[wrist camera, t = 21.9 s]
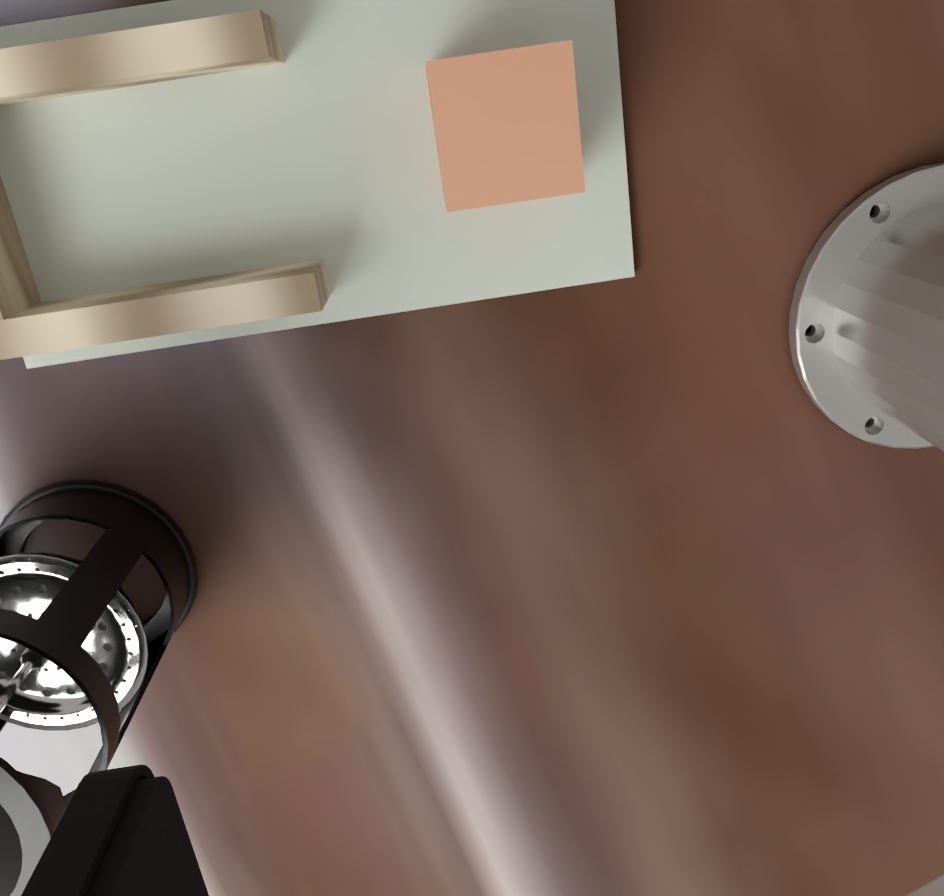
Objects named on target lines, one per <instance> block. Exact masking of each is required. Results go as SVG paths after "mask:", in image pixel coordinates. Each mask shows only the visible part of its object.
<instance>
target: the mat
mask: <svg viewBox="0 0 944 896" xmlns="http://www.w3.org/2000/svg"><path fill="white" fill-rule="evenodd" d="M259 9H260V10H261V11H262V12H264V13H265V14H267V15H268V16H270V17H271V18H273V19H274V20H276V24H277V29H278V34H279V39H280V44H281V49H282V54H283V59H284V63H281V64H275V65H268V66H262V67H255V68H248V69H242V70H235V71H229V72H222V73H216V74H209V75H203V76H196V77H189V78H183V79H176V80H170V81H163V82H157V83H150V84H143V85H137V86H130V87H124V88H117V89H111V90H104V91H97V92H91V93H84V94H78V95H71V96H65V97H58V98H51V99H45V100H38V101H32V102H25V103H19V104H12V105H5V106H0V176H1V179H2V182H3V185H4V188H5V191H6V194H7V197H8V200H9V203H10V206H11V210H12V213H13V216H14V219H15V222H16V225H17V228H18V231H19V234H20V237H21V240H22V244H23V247H24V250H25V253H26V256H27V259H28V262H29V265H30V268H31V271H32V274H33V278H34V281H35V284H36V287H37V290H38V293H39V296H40V299H41V302H44V301H51V300H57V299H64V298H70V297H77V296H84V295H90V294H97V293H103V292H110V291H117V290H123V289H130V288H136V287H143V286H149V285H156V284H163V283H169V282H176V281H182V280H189V279H196V278H202V277H209V276H215V275H222V274H228V273H235V272H242V271H248V270H255V269H261V268H268V267H275V266H281V265H288V264H294V263H301V262H307V261H314V260H321V259H324V263H325V268H326V273H327V278H328V283H329V287H330V292H331V295H330V297H329V299H328V301H327V302H326V304H325V306H324V308H323V310H322V311H319V312H313V313H306V314H300V315H293V316H286V317H280V318H273V319H267V320H260V321H253V322H247V323H240V324H234V325H227V326H220V327H214V328H207V329H201V330H194V331H188V332H181V333H174V334H168V335H161V336H155V337H148V338H141V339H135V340H128V341H122V342H115V343H108V344H102V345H95V346H89V347H82V348H76V349H69V350H62V351H56V352H49V353H43V354H36V355H29V356H23V359H24V362H25V364H26V367H27V369H29V368H35V367H42V366H48V365H55V364H62V363H68V362H75V361H81V360H88V359H94V358H101V357H108V356H114V355H121V354H127V353H134V352H141V351H147V350H154V349H160V348H167V347H173V346H180V345H187V344H193V343H200V342H206V341H213V340H220V339H226V338H233V337H239V336H246V335H253V334H259V333H266V332H272V331H279V330H285V329H292V328H299V327H305V326H312V325H318V324H325V323H332V322H338V321H345V320H351V319H358V318H365V317H371V316H378V315H384V314H391V313H397V312H404V311H411V310H417V309H424V308H430V307H437V306H444V305H450V304H457V303H463V302H470V301H477V300H483V299H490V298H496V297H503V296H509V295H516V294H523V293H529V292H536V291H542V290H549V289H556V288H562V287H569V286H575V285H582V284H589V283H595V282H602V281H608V280H615V279H621V278H628V277H635V273H634V260H633V246H632V233H631V219H630V206H629V192H628V178H627V165H626V151H625V138H624V124H623V111H622V97H621V83H620V70H619V56H618V43H617V29H616V16H615V2H614V0H171V1H164V2H158V3H151V4H145V5H138V6H131V7H125V8H118V9H112V10H105V11H99V12H92V13H85V14H79V15H72V16H66V17H59V18H53V19H46V20H40V21H33V22H26V23H20V24H13V25H7V26H0V49H3V48H10V47H16V46H23V45H29V44H36V43H43V42H49V41H56V40H62V39H69V38H75V37H82V36H88V35H95V34H102V33H108V32H115V31H121V30H128V29H134V28H141V27H148V26H154V25H161V24H167V23H174V22H180V21H187V20H193V19H200V18H207V17H213V16H220V15H226V14H233V13H239V12H246V11H253V10H259ZM567 40H572V43H573V55H574V66H575V78H576V89H577V101H578V113H579V124H580V136H581V147H582V159H583V170H584V182H585V192H582V193H575V194H568V195H562V196H555V197H548V198H541V199H534V200H528V201H521V202H514V203H507V204H500V205H494V206H487V207H480V208H473V209H466V210H460V211H453V212H447V208H446V204H445V201H444V194H443V187H442V180H441V173H440V166H439V159H438V152H437V145H436V138H435V131H434V124H433V117H432V110H431V103H430V96H429V89H428V82H427V75H426V61H431V60H438V59H445V58H452V57H459V56H465V55H472V54H479V53H486V52H493V51H499V50H506V49H513V48H520V47H527V46H533V45H540V44H547V43H554V42H561V41H567Z"/></svg>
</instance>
